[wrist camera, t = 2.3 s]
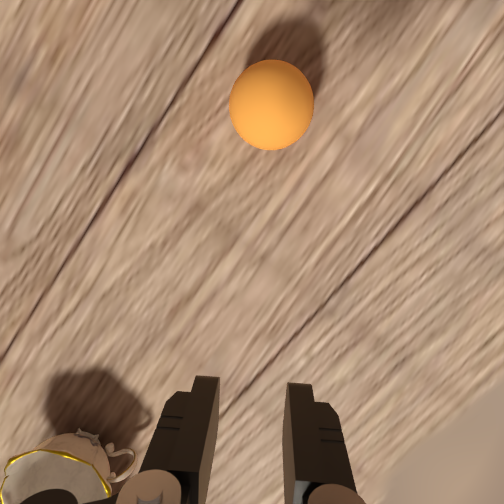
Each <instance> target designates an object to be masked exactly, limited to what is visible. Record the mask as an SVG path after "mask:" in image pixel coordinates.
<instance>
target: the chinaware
mask: <svg viewBox="0 0 504 504" xmlns="http://www.w3.org/2000/svg"><path fill="white" fill-rule="evenodd" d="M98 436H99V434H97V435H93V434H91V433H88V432H83V431H81V430H80V429H79V428H78V432H76V433H66V434H61V435H57V436H54V437H52V438H49V439H47V440H45V441H44V442H42V443H41V444H39V445H38V446H37V447H35V448H34V449H33V450H32V451H28V452H24V453H22V454H19V455H15V456H13V457H11V458H10V459H9V460H8V462H7V465H6V466H5V469H4V472H5V476H6V477H5V478H4V481H3V484H2V486H1V489H0V498H1V504H20V503H21V502H22V501H24V500H25V499H27V498H28V497H30V496H32V495H33V494H36V493H38V492H40V491H44V490H48V489H64V490H67V491H69V492H71V493H72V494H73V495H74V496H75V497H76V499H77V501H78V504H83V503H88V502H92V501H97V500H102V499H105V498H109V497H111V492H112V488H111V485H110V483H115V482H119V481H121V480H124V479H125V478H126V477H128V476H129V475H130V474H131V472H132V471H133V470H134V468H135V466H136V464H137V454H136V452H135V451H134V450H133V449H130V448H125V449H122V450H119V451H117V452H114V453H112V452H113V451H114V444H113V443H108V444H107V445H106V446H105V448H104V449H103V448H102V447H101V444H100V441H99V440H98ZM125 453H130V454H132V455H133V456H134V459H133V462H132V463H131V465H130V466H129V467H128V468H127V469H126V470H125V471H124V472H123V473H122V474H120V475H119V476H117V477H116V474H115V473H114V472H111V474H110V465H109V461H108V457H107V455H108V456H110V457H115V456H118V455H121V454H125ZM110 478H111V479H110Z"/></svg>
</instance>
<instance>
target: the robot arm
mask: <svg viewBox="0 0 504 504" xmlns="http://www.w3.org/2000/svg"><path fill="white" fill-rule="evenodd" d="M219 393H220V377H210V376H197V375H196V377H195V380H194V383H193V387H192V390H191V392H181V391H177V392H176V393H175V394H174V395H173V396H172V397H171V398H170V399H169V400H167V401H166V403H165V406H164V408H163V411H162V413H161V418H160V419H159V421H158V424H157V427H156V429H155V432H154V434H153V437H152V439H151V442H150V445H149V447H148V450H147V452H146V455H145V458H144V460H143V463H142V465H141V468H140V471H139V473H138V474H136V475H135V476H133V477H132V478H130V479H129V480H128V481H127V482H126V483H125V484H124V485H123V487H122V489H121V490H120V492H119V493H118V494H116V495H114V496H111V497H109V498H105V499H102V500H97V501H92V502H88V503H83V504H205V502H206V497H207V491H208V485H209V479H210V474H211V468H212V462H213V456H214V451H215V445H216V439H217V431H218V419H219ZM282 446H283V472H284V497H285V504H366V503H365V502H364V500H363V499H362V498H361V497H360V496H359V495H358V494H357V491H356V487H355V483H354V479H353V475H352V470H351V466H350V462H349V458H348V454H347V450H346V445H345V444H344V437H343V433H342V429H341V425H340V420H339V416H338V414H337V413H336V412H335V411H334V409H333V408H332V407H331V405H330V404H329V403H324V402H314V396H313V390H312V385H311V384H302V383H289V382H288V383H287V389H286V399H285V410H284V420H283V436H282ZM20 504H78V501H77V499H76V497H75V496H74V495H73V494H72V493H71V492H69V491H67V490H64V489H48V490H44V491H40V492H38V493H36V494H33V495H32V496H30V497H28V498H27V499H25V500H24V501H22V502H21V503H20Z"/></svg>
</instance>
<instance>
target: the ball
mask: <svg viewBox="0 0 504 504" xmlns="http://www.w3.org/2000/svg"><path fill="white" fill-rule="evenodd" d="M313 110H314V97H313V92H312V89H311V86H310V84H309V82H308V80H307V79H306V77H305V76H304V74H303V73H302V72H301V71H300V70H299V69H297V68H296V67H295V66H293V65H292V64H290V63H287V62H285V61H281V60H263V61H260V62H257V63H255V64H253V65H251V66H250V67H248V68H247V69H246V70H244V71H243V72H242V73H241V75H240V76H239V77H238V78H237V80H236V81H235V83H234V85H233V88H232V91H231V94H230V100H229V111H230V117H231V120H232V123H233V125H234V127H235V129H236V131H237V132H238V134H239V135H240V136H241V137H242V138H243V139H244V140H245V141H246V142H248V143H249V144H251V145H252V146H255V147H257V148H260V149H265V150H277V149H281V148H285V147H287V146H289V145H291V144H293V143H294V142H296V141H297V140H298V139H299V138H300V137H301V136H302V135H303V134H304V132H305V131H306V130H307V128H308V126H309V124H310V122H311V119H312V116H313Z"/></svg>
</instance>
